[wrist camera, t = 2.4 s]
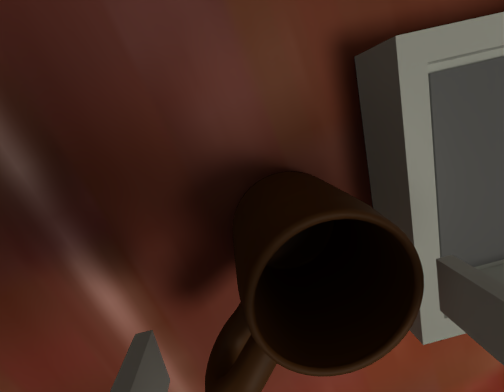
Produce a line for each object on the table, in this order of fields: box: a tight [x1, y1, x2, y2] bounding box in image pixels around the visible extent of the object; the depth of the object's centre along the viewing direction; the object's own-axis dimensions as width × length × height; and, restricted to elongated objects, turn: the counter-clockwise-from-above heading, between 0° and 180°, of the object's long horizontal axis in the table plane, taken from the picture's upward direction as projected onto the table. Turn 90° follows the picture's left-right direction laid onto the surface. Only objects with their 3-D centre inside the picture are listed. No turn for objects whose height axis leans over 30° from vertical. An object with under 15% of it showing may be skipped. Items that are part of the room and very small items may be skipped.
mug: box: [205, 172, 424, 392], centre depth 16 cm, size 12×8×9 cm, turn 141°
